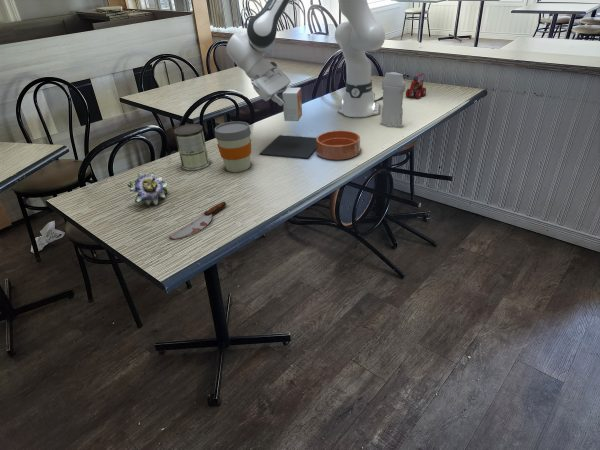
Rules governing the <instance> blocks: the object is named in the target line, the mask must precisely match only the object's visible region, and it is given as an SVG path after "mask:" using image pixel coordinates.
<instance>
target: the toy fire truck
mask: <svg viewBox="0 0 600 450" xmlns="http://www.w3.org/2000/svg"><path fill="white" fill-rule="evenodd" d="M424 79H425V74H424V73H420V74H418V75H415V76H413V80H412V81H411V82H410V87H409V88H406V90H405V97H406V98H410V97H411V98H412V97H415V99H420V98H421V97H424V96H425V95H426V93H427V88H426V87H424Z"/></svg>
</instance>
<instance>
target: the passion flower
mask: <svg viewBox="0 0 600 450" xmlns="http://www.w3.org/2000/svg"><path fill="white" fill-rule="evenodd" d="M127 187H128V188H129V191H130V192H133V193H137V195H136V197H135V199H134V202H135V203H140V202H141V201H142V200H143V202H144V203H145V204H146V205H147V206H150V204H153V205H154V206H158V204H159V198H166V194H168V182H165V181H164V180H163V177H161V176H159V177H155V171H151V172H150V173H149V174H148V175H147V174H146V173H143V172H142V171H138V173H137V177H136V179H135V180H130V181H129V184H128V183H127Z"/></svg>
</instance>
